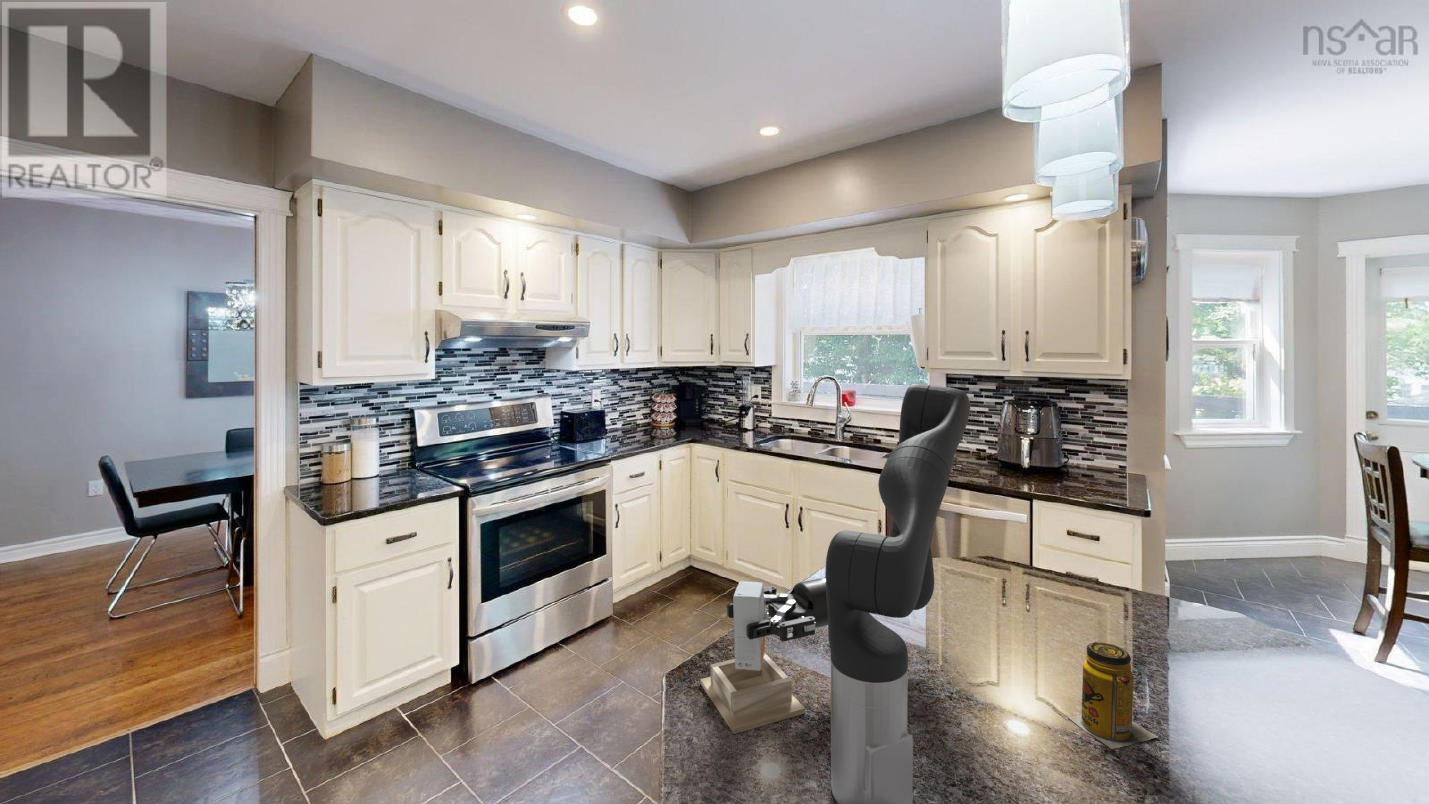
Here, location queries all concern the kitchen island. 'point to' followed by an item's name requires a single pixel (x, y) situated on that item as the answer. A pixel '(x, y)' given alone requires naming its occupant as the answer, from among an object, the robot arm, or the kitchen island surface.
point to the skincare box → (745, 612)
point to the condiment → (1109, 697)
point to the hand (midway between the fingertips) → (737, 621)
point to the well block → (751, 694)
